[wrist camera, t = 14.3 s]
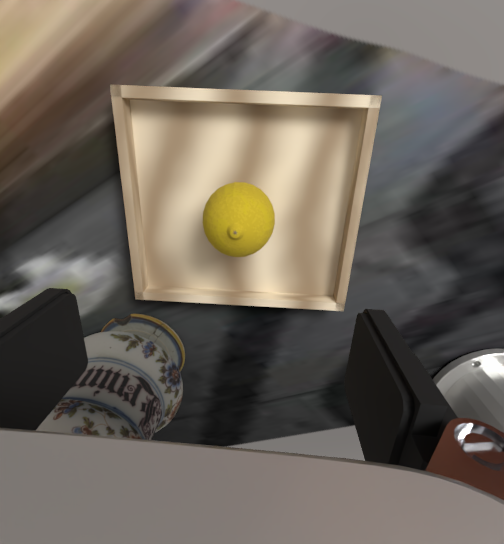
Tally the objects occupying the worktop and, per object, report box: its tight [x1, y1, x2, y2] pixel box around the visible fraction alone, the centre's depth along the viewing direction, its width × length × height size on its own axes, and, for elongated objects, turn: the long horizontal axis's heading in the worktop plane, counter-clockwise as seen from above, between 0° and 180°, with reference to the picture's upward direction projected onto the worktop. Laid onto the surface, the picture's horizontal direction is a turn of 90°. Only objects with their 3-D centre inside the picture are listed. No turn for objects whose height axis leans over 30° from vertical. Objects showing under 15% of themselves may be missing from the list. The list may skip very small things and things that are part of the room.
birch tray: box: [110, 85, 382, 311], centre depth 28 cm, size 20×18×2 cm
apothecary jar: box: [36, 314, 185, 440], centre depth 28 cm, size 12×12×18 cm
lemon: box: [203, 182, 275, 257], centre depth 24 cm, size 6×6×8 cm
